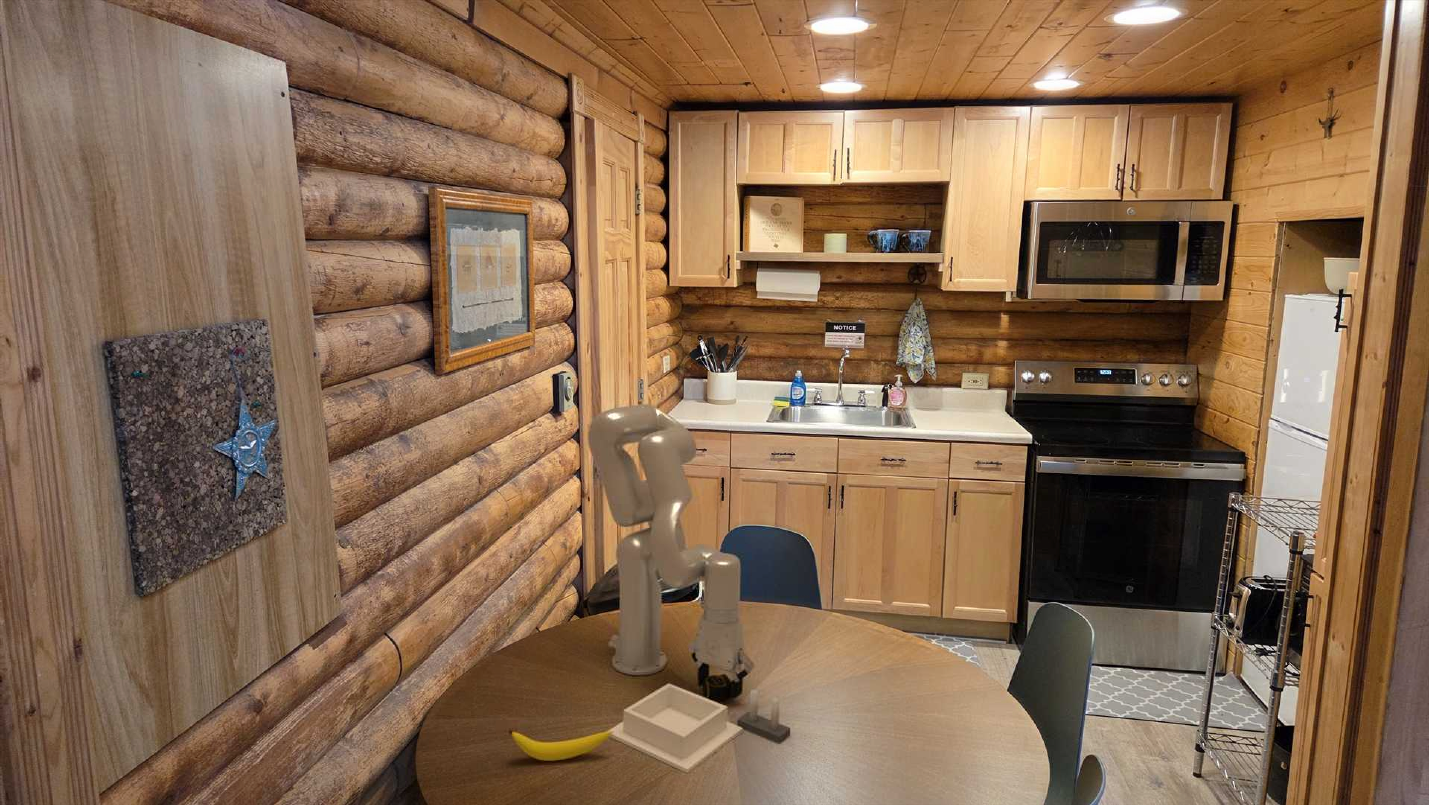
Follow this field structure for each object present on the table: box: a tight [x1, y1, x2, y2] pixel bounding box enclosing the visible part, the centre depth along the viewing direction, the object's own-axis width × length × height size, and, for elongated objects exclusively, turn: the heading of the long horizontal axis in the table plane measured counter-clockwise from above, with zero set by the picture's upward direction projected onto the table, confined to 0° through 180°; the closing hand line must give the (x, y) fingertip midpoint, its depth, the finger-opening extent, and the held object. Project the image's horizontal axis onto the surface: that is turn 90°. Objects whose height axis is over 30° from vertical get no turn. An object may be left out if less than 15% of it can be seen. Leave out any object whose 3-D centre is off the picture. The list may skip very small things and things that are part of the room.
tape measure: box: [701, 673, 733, 703], centre depth 181 cm, size 7×7×4 cm
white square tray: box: [607, 683, 744, 774], centre depth 166 cm, size 20×18×5 cm
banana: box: [508, 729, 613, 762], centre depth 156 cm, size 3×19×6 cm, turn 100°
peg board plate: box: [736, 689, 791, 744], centre depth 168 cm, size 10×4×8 cm, turn 54°
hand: (719, 689), depth 180 cm, fingers closed on tape measure, 8 cm apart
